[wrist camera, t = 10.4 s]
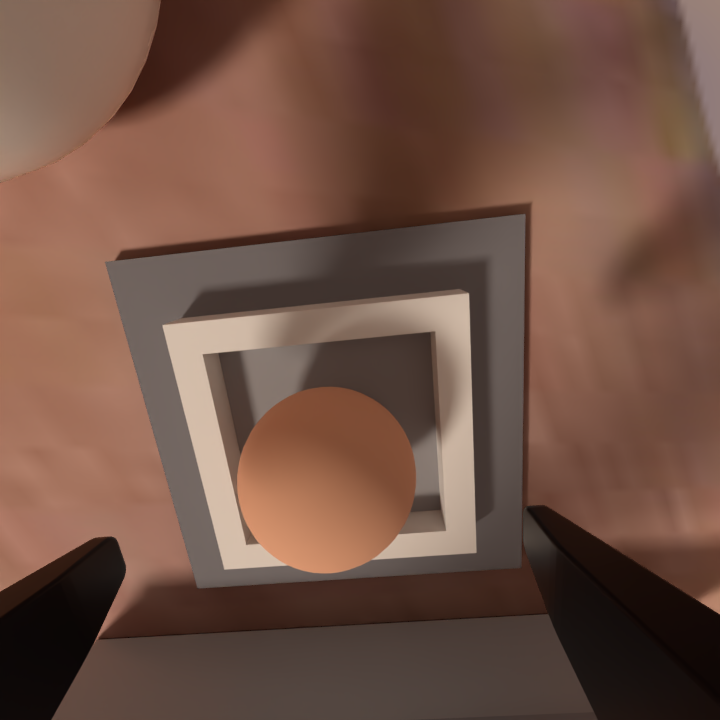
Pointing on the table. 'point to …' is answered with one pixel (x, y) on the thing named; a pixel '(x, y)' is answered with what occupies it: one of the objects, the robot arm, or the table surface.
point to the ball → (326, 480)
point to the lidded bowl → (65, 73)
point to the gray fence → (335, 674)
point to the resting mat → (341, 379)
